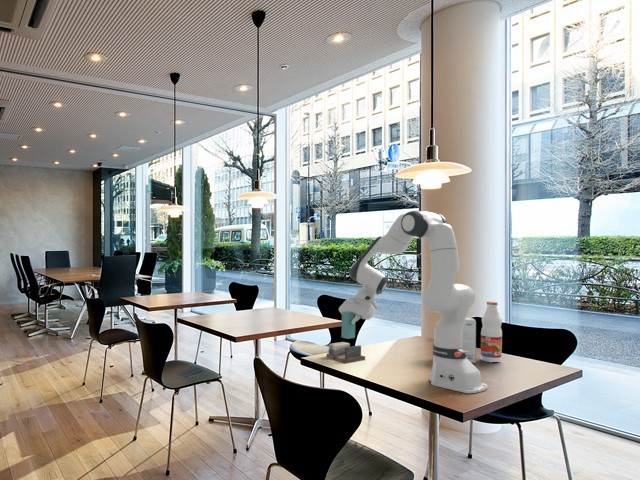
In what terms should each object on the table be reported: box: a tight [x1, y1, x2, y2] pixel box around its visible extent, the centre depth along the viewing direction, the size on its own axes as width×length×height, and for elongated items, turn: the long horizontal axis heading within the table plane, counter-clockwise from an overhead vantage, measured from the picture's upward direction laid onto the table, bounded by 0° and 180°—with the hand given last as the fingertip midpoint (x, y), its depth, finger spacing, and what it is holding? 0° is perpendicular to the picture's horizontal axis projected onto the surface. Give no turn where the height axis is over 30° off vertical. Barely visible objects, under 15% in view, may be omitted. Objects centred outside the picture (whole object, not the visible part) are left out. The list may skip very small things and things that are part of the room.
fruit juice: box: [480, 300, 503, 363], centre depth 220 cm, size 9×9×28 cm
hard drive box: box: [463, 317, 477, 364], centre depth 218 cm, size 16×8×20 cm, turn 84°
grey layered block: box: [326, 341, 366, 364], centre depth 218 cm, size 14×12×6 cm
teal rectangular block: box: [341, 311, 356, 340], centre depth 217 cm, size 4×5×12 cm
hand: (347, 322), depth 216 cm, fingers closed on teal rectangular block, 4 cm apart
